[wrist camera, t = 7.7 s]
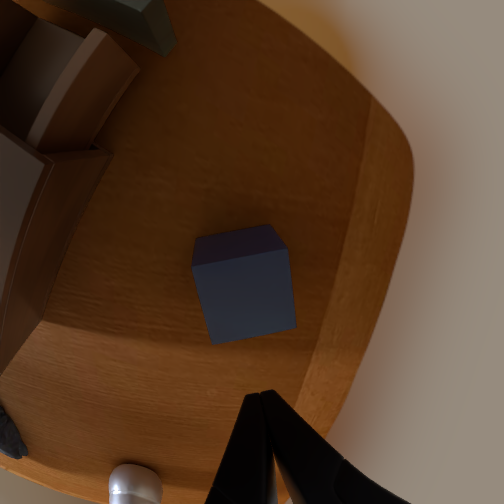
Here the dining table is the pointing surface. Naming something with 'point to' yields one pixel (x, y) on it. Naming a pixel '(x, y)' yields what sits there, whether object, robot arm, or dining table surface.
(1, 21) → the drawer
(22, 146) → the cabinet
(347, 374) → the dining table surface
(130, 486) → the plastic bottle
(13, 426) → the black flat pad
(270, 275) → the block
